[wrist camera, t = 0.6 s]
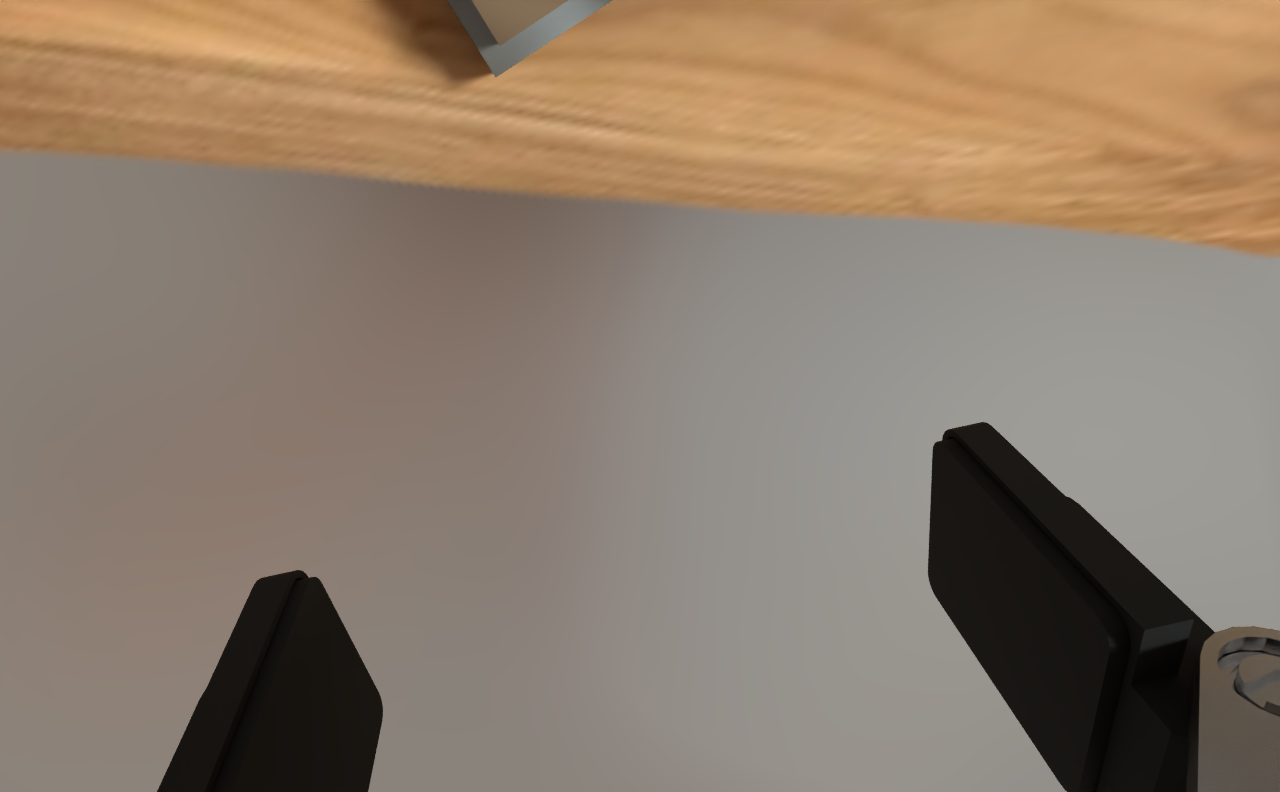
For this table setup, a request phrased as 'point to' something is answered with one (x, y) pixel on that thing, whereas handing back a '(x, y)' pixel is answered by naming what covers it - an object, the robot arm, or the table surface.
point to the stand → (518, 25)
